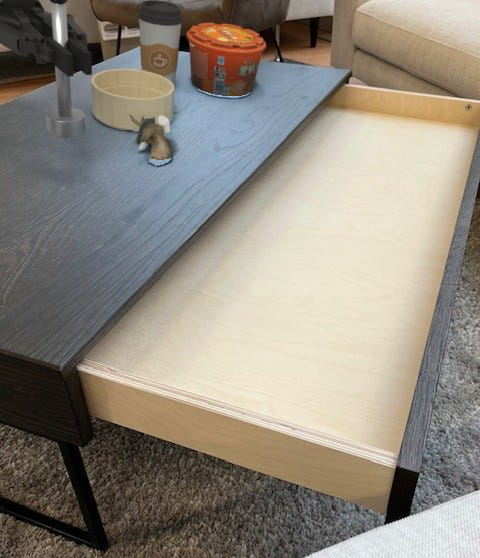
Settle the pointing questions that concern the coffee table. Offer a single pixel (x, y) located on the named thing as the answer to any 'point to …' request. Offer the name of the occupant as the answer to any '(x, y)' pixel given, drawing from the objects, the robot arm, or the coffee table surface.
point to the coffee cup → (160, 37)
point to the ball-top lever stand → (63, 85)
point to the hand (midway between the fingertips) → (79, 64)
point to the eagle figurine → (154, 136)
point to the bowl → (130, 97)
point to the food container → (224, 58)
